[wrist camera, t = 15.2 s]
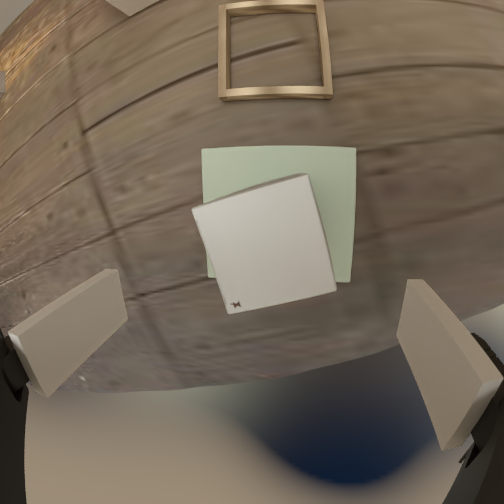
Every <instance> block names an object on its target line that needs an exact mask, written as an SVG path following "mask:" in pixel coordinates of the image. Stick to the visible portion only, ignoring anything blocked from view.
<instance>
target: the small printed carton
mask: <svg viewBox="0 0 504 504" xmlns="http://www.w3.org/2000/svg"><path fill="white" fill-rule="evenodd" d="M4 93H5V72H3V71H0V98H1V97H2V96H3V95H4Z"/></svg>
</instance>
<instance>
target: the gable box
mask: <svg viewBox="0 0 504 504" xmlns="http://www.w3.org/2000/svg"><path fill="white" fill-rule="evenodd" d="M105 1H107V2H108V3H110V4H111V5H113V6H114V7H116V8H117V9H119V10H120V11H122V12H123V13H125V14H126V15H128V16H132V15H134V14H135V13H137V12H139V11H141V10H142V9H144V8H146V7H148V6H150V5H152V4H154V3H156V2H158V1H160V0H105Z"/></svg>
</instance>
